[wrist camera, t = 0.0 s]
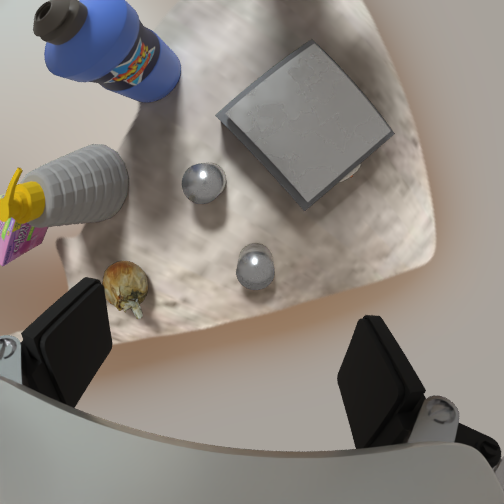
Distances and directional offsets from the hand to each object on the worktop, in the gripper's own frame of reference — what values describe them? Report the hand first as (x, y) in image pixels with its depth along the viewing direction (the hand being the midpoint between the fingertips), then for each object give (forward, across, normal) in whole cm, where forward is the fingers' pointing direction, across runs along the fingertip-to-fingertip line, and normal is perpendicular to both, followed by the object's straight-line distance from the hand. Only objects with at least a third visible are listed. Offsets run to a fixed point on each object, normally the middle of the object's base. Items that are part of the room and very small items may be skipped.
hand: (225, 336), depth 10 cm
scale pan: (+26, -6, -11) cm, 29 cm away
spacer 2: (+31, -2, +9) cm, 33 cm away
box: (+31, +38, +6) cm, 49 cm away
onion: (+31, +18, +15) cm, 39 cm away
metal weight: (+31, +6, -2) cm, 32 cm away
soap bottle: (+31, +24, 0) cm, 40 cm away
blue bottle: (+31, +17, -17) cm, 40 cm away
